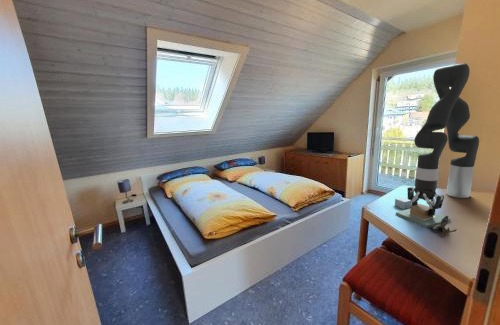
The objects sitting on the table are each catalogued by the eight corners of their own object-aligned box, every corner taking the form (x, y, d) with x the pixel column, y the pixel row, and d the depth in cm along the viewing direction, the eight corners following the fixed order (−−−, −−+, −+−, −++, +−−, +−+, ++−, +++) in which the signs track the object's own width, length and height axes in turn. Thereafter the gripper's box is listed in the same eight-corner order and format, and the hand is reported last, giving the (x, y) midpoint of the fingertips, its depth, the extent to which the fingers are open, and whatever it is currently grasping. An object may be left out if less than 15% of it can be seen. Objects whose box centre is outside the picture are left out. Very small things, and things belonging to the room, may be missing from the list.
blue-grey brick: (401, 204, 114) (402, 197, 113) (411, 207, 109) (412, 200, 108) (394, 205, 112) (395, 198, 111) (404, 209, 107) (404, 202, 107)
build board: (417, 209, 107) (417, 206, 106) (450, 221, 93) (450, 218, 93) (395, 214, 103) (396, 212, 102) (427, 228, 90) (427, 225, 89)
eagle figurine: (463, 238, 80) (453, 222, 87) (452, 223, 79) (443, 209, 87) (439, 243, 84) (431, 228, 91) (429, 229, 83) (422, 216, 91)
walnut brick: (419, 211, 101) (420, 203, 100) (433, 216, 96) (434, 208, 95) (409, 213, 100) (410, 205, 99) (423, 219, 94) (424, 211, 93)
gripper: (451, 180, 88) (446, 217, 92) (415, 172, 102) (412, 205, 105) (438, 183, 86) (434, 221, 90) (403, 174, 100) (401, 208, 103)
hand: (422, 212), depth 98 cm, fingers open, 6 cm apart
